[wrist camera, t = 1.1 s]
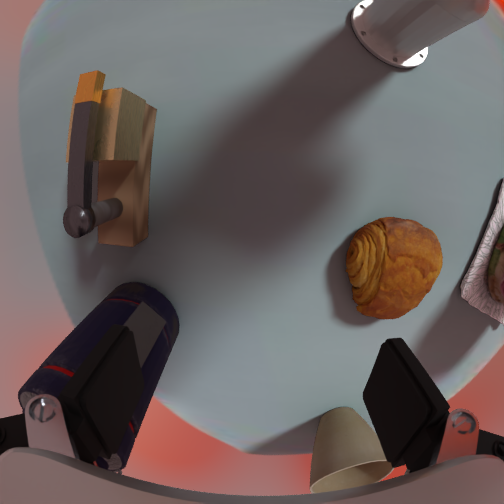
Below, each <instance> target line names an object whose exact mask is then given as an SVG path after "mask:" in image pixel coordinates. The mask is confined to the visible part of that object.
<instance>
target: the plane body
mask: <svg viewBox="0 0 504 504" xmlns="http://www.w3.org/2000/svg"><path fill="white" fill-rule="evenodd" d="M156 112H157V109H156V108H154V107H152V106H150V105H148V104H147V103H146V104H145V111H144V118H143V126H142V135H141V145H140V156H139V161H99V171H98V202H95V203H92V204H91V207H92V209H93V210H94V213H95V217H96V223H95V226H94V227H96V226H98V241H99V243H102V244H111V245H120V246H129V247H134V246H135V245H137V244H138V243H139V242H141V241H142V240H144V239H145V238H147V237H148V209H149V185H150V170H151V157H152V146H153V136H154V127H155V119H156Z"/></svg>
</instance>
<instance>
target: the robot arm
mask: <svg viewBox="0 0 504 504" xmlns="http://www.w3.org/2000/svg"><path fill="white" fill-rule="evenodd" d="M489 4H490V0H364V1H362V2H360V3H358V4H357V5H356V6H355V8H354V9H353V11H352V14H351V24H352V28H353V30H354V32H355V34H356V36H357V38H358V39H359V40H360V42H361V43H362V44H363V45H364V46H365V48H366V49H367V50H369V51H370V52H371V53H372V54H373V55H374V56H376V57H377V58H379V59H380V60H382V61H384V62H386V63H387V64H390V65H392V66H395V67H399V68H413V67H415V66H418V65H419V64H421V63H422V62H423V61H424V60H425V59H426V56H427V52H428V47H429V46H430V45H432V44H434V43H436V42H437V41H439V40H441V39H443V38H444V37H446V36H448V35H450V34H452V33H453V32H455V31H457V30H459V29H461V28H463V27H465V26H467V25H469V24H470V23H472V22H475V21H477V20H479V19H480V18H482V17H483V16H484V15H485V14H486V13H487V11H488V9H489ZM143 390H144V379H143V375H142V371H141V367H140V362H139V358H138V353H137V348H136V344H135V338H134V334H133V331H130V330H129V327H127V326H123V325H117V324H113V325H112V326H111V327H110V328H109V330H108V331H107V332H106V333H105V335H104V336H103V337H102V338H101V340H100V341H99V342H98V343H97V345H96V346H95V347H94V348H93V350H92V351H91V352H90V354H89V355H88V356H87V357H86V359H85V360H84V361H83V363H82V364H81V365H80V367H79V368H78V369H77V371H76V372H75V373H74V375H73V376H72V377H71V379H70V380H69V381H68V383H67V384H66V385H65V387H64V388H63V390H62V391H61V392H60V395H59V396H58V398H56V397H54V396H52V395H48V394H40V395H37V396H35V397H33V398H32V399H30V400H29V402H28V403H27V405H26V407H25V413H23V414H20V415H15V416H10V417H5V418H0V504H504V437H502V436H499V435H496V434H493V433H490V432H486V431H483V430H480V429H479V422H478V419H477V417H476V416H475V415H474V414H473V413H472V412H470V411H469V410H466V409H456V410H454V411H452V412H451V413H449V411H448V409H449V408H450V406H449V404H448V403H447V401H446V400H445V398H444V397H443V395H442V394H441V392H440V391H439V389H438V388H437V386H436V385H435V383H434V382H433V380H432V379H431V378H430V376H429V375H428V373H427V372H426V370H425V369H424V368H423V366H422V365H421V363H420V362H419V361H418V359H417V358H416V357H415V355H414V354H413V352H412V351H411V350H410V348H409V347H408V346H407V344H406V343H405V342H404V340H403V339H402V338H391V339H387V340H386V341H385V343H383V344H382V345H381V348H380V351H379V353H378V356H377V359H376V361H375V364H374V367H373V369H372V372H371V374H370V377H369V379H368V382H367V384H366V386H365V389H364V391H363V400H364V403H365V405H366V408H367V410H368V413H369V415H370V418H371V420H372V423H373V425H374V428H375V431H376V433H377V436H378V439H379V441H380V444H381V447H382V449H383V452H384V455H385V458H386V460H387V461H388V462H391V465H392V468H395V467H399V466H402V465H405V464H406V467H407V470H406V472H405V475H402V476H399V477H395V478H392V479H388V480H385V481H381V482H377V483H372V484H368V485H364V486H359V487H354V488H348V489H342V490H336V491H329V492H321V493H313V494H304V495H303V494H302V495H287V496H286V495H285V496H242V495H226V494H215V493H206V492H198V491H191V490H184V489H179V488H173V487H169V486H164V485H159V484H155V483H151V482H147V481H143V480H139V479H135V478H132V477H128V476H124V475H121V474H118V473H115V472H112V471H109V470H106V469H103V468H100V467H98V466H97V463H96V460H97V458H98V456H100V457H103V458H106V459H109V460H110V458H111V456H112V454H116V453H117V451H118V448H119V446H120V444H121V441H122V439H123V436H124V434H125V432H126V429H127V427H128V425H129V422H130V420H131V418H132V415H133V413H134V411H135V408H136V406H137V404H138V402H139V399H140V397H141V395H142V393H143Z"/></svg>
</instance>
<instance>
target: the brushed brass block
mask: <svg viewBox="0 0 504 504" xmlns="http://www.w3.org/2000/svg"><path fill="white" fill-rule="evenodd" d="M75 97H76V95H75V96H74V99H73V104H72V111H71V117H70V125H69V133H68V143H67V155H66V162H69V148H70V138H71V129H72V121H73V114H74V107H75V104H74V103H75ZM145 104H146V100H144V99H142V98H140V97H139V96H137V95H135V94H133V93H132V92H130V91H128V90H126V89H124V88H115V89H108V90H102V95H101V101H100V103H99V109H98V116H97V123H96V131H95V141H94V152H93V161H139V156H140V145H141V135H142V126H143V118H144V111H145Z"/></svg>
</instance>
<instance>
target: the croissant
mask: <svg viewBox="0 0 504 504" xmlns="http://www.w3.org/2000/svg"><path fill="white" fill-rule="evenodd" d="M442 258H443V257H442V252H441V246H440V243H439V241H438V238H437V236H436V235H435V233H434V232H433V231H431V230H430V229H428V228H425V227H423V226H422V225H421V224H420V223H418V222H416V221H413V220H409V219H406V220H405V219H401V218H395V217H385V218H379V219H378V220H375V221H373V222H371V223H368V224H367V225H364V227H363V228H361V229H359V230H358V231H357V233H356V234H355V236H354V237H353V239H352V240H351V242H350V247H349V249H348V251H347V258H346V267H347V269H346V272H348V276H349V280H350V282H351V284H352V285H353V287H352V292H353V300H355V302H356V303H357V304H358V306H357V307H356V309H357V311H359V312H360V313H362V314H363V315H366V316H372V317H376V318H378V319H396V318H399V317H401V316H403V315H405V314H406V313H407V312H409V311H410V310H412V309H413V308H415V307H417V306H418V304H419V303H420V302H421V301H422V299H423V298H424V296H425V295H426V294H427V293H428V292H429V291H430V290H431V288H432V285H433V284H434V282H435V280H436V278H437V277H438V275H439V273H440V271H441V268H442V263H443V262H442Z"/></svg>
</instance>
